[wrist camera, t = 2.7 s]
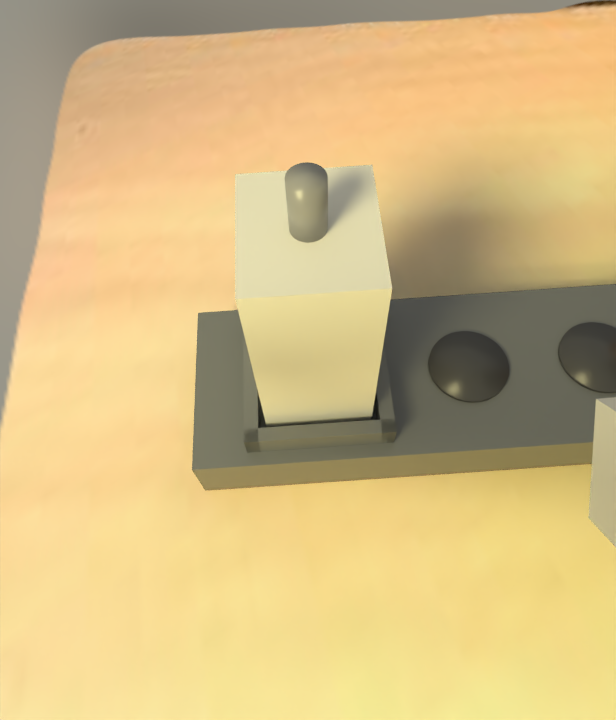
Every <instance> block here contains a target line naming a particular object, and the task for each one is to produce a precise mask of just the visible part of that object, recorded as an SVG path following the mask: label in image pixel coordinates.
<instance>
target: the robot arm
mask: <svg viewBox="0 0 616 720" xmlns="http://www.w3.org/2000/svg"><path fill="white" fill-rule="evenodd" d="M589 519H590V520H591V521H592V522H593V523H594V524H595V525H596V527H597V528H598V529H599V530H600V531H601V532H602V533H603V534H604V535H605V536H606V537H607V538H608V539H609V540H610V541H611V542H612V543H613V545H614V546H615V547H616V397H614V398H601V399H596V407H595V423H594V439H593V455H592V471H591V487H590V503H589Z"/></svg>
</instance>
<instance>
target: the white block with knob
mask: <svg viewBox="0 0 616 720" xmlns="http://www.w3.org/2000/svg"><path fill="white" fill-rule="evenodd" d="M391 293H392V284H391V278H390V272H389V265H388V259H387V253H386V247H385V241H384V235H383V228H382V222H381V216H380V210H379V204H378V198H377V191H376V185H375V179H374V173H373V167H372V165H363V166H349V167H334V168H322V167H321V166H319V165H317V164H314V163H300V164H297V165H294V166H293V167H291V168H290V169H289V170H288V171H276V172H261V173H247V174H235V300H236V304H237V308H238V312H239V316H240V320H241V324H242V329H243V333H244V337H245V341H246V345H247V349H248V353H249V357H250V361H251V365H252V369H253V373H254V378H255V382H256V386H257V390H258V394H259V398H260V402H261V406H262V410H263V414H264V418H265V422H266V426H267V427H279V426H294V425H308V424H323V423H337V422H352V421H366V420H371V419H372V413H373V407H374V400H375V394H376V388H377V381H378V375H379V369H380V362H381V356H382V350H383V344H384V337H385V331H386V325H387V318H388V312H389V306H390V299H391Z"/></svg>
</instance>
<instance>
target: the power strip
mask: <svg viewBox="0 0 616 720" xmlns="http://www.w3.org/2000/svg"><path fill="white" fill-rule="evenodd" d="M614 397H616V284H611V285H597V286H582V287H568V288H553V289H539V290H524V291H510V292H495V293H481V294H466V295H452V296H437V297H423V298H408V299H394V300H390V306H389V312H388V318H387V325H386V331H385V337H384V344H383V350H382V356H381V362H380V369H379V375H378V381H377V388H376V394H375V400H374V407H373V413H372V419H371V420H366V421H352V422H337V423H323V424H308V425H294V426H279V427H267V426H266V422H265V418H264V414H263V410H262V406H261V402H260V398H259V394H258V390H257V386H256V382H255V378H254V373H253V369H252V365H251V361H250V357H249V353H248V349H247V345H246V341H245V337H244V333H243V329H242V324H241V320H240V316H239V312H238V310H234V311H220V312H205V313H198V330H197V356H196V383H195V409H194V436H193V462H192V470H193V472H194V474H195V475H196V477H197V478H198V480H199V481H200V483H201V484H202V486H203V488H204V489H205V491H206V490H220V489H234V488H249V487H263V486H278V485H292V484H307V483H321V482H335V481H350V480H364V479H379V478H393V477H408V476H422V475H436V474H451V473H465V472H480V471H494V470H508V469H523V468H537V467H552V466H566V465H581V464H592V455H593V439H594V423H595V407H596V399H601V398H614Z"/></svg>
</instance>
